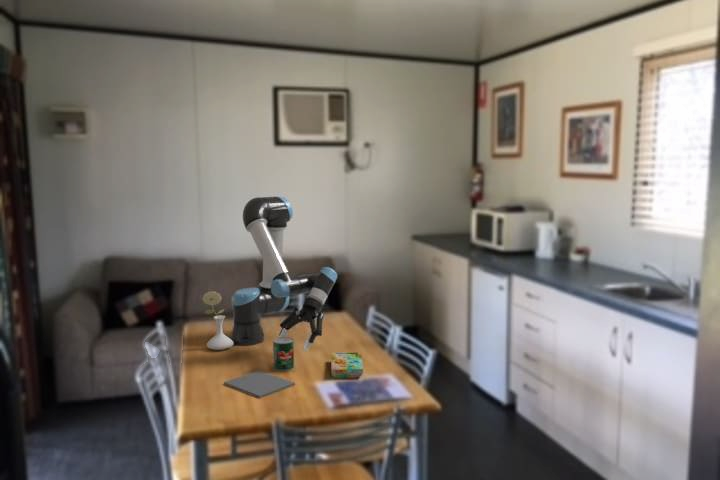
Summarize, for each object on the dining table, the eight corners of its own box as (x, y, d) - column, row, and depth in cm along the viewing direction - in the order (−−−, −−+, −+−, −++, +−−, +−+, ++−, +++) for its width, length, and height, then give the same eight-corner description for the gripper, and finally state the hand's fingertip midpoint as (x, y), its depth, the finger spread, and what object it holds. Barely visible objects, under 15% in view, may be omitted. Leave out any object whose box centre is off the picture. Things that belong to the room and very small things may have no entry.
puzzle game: (331, 367, 213) (331, 350, 233) (331, 379, 214) (331, 362, 234) (363, 366, 213) (361, 350, 233) (363, 379, 214) (361, 361, 234)
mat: (223, 384, 208) (223, 382, 208) (258, 372, 220) (258, 370, 220) (260, 398, 195) (260, 395, 195) (294, 384, 207) (294, 382, 207)
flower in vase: (237, 344, 257) (235, 288, 254) (228, 352, 246) (227, 294, 243) (208, 343, 258) (206, 288, 255) (199, 351, 247) (196, 293, 244)
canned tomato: (283, 372, 221) (283, 344, 219) (269, 368, 225) (268, 340, 224) (298, 366, 227) (297, 339, 226) (283, 363, 232) (283, 336, 230)
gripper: (343, 310, 232) (320, 356, 222) (296, 303, 246) (272, 346, 236) (335, 299, 227) (311, 347, 217) (287, 293, 241) (263, 337, 231)
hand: (291, 346), depth 226 cm, fingers open, 13 cm apart
